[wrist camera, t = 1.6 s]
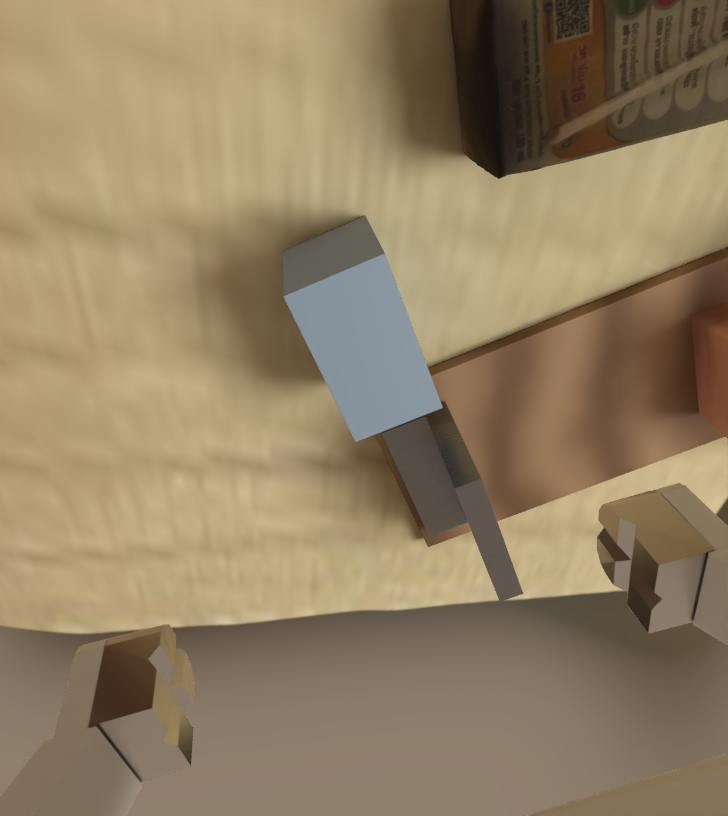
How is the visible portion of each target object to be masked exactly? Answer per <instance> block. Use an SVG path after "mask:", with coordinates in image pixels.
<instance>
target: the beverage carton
mask: <svg viewBox="0 0 728 816" xmlns="http://www.w3.org/2000/svg"><path fill="white" fill-rule="evenodd" d="M450 11H451V23H452V33H453V43H454V54H455V65H456V76H457V90H458V101H459V112H460V122H461V131H462V141H463V150H464V154H465V155H467V156H468V157H469V158H470V159H471V160H472V161H474V162H475V163H476V164H477V165H478V166H480V167H482V168H484V169H485V170H486V171H487V172H489V173H490V174H492V175H493V176H495V177H497V178H498V179H500V178H502V177H504V176H506V175H509V174H515V173H521V172H527V171H533V170H536V169H540V168H543V167H547V166H551V165H556V164H560V163H564V162H569V161H573V160H577V159H580V158H584V157H588V156H592V155H596V154H600V153H604V152H608V151H611V150H615V149H619V148H622V147H625V146H629V145H633V144H637V143H641V142H644V141H648V140H652V139H656V138H660V137H664V136H668V135H671V134H675V133H679V132H683V131H687V130H691V129H695V128H698V127H702V126H706V125H709V124H713V123H717V122H720V121H724V120H728V0H450Z"/></svg>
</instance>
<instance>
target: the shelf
mask: <svg viewBox="0 0 728 816" xmlns="http://www.w3.org/2000/svg"><path fill="white" fill-rule="evenodd" d="M428 370H429V372H430V375H431V378H432V380H433V383H434V386H435V388H436V391H437V393H438V396H439V399H440V401H441V402H444V401H445V402H446V404H447V406H448V408H449V411H450V413H451V415H452V417H453V419H454V421H455V423H456V425H457V428H458V430H459V432H460V434H461V436H462V438H463V440H464V442H465V445H466V447H467V449H468V451H469V453H470V455H471V457H472V460H473V462H474V464H475V466H476V468H477V470H478V472H479V474H480V477H481V479H482V481H483V484H484V487H485V490H486V493H487V495H488V498H489V501H490V504H491V506H492V509H493V512H494V515H495V517H496V520H497V521H499V520H502V519H505V518H507V517H510V516H513V515H516V514H518V513H521V512H524V511H526V510H529V509H532V508H534V507H537V506H540V505H542V504H545V503H548V502H550V501H553V500H556V499H558V498H561V497H564V496H566V495H569V494H572V493H574V492H577V491H580V490H583V489H585V488H588V487H591V486H593V485H596V484H599V483H601V482H604V481H607V480H609V479H612V478H615V477H617V476H620V475H623V474H625V473H628V472H631V471H633V470H636V469H639V468H642V467H644V466H647V465H650V464H652V463H655V462H658V461H660V460H663V459H666V458H668V457H671V456H674V455H676V454H679V453H682V452H684V451H687V450H690V449H692V448H695V447H698V446H701V445H703V444H706V443H709V442H711V441H714V440H717V439H719V438H722V437H727V438H728V248H726V249H724V250H721V251H719V252H716V253H714V254H711V255H709V256H706V257H704V258H701V259H699V260H696V261H694V262H691V263H689V264H686V265H684V266H681V267H679V268H676V269H674V270H671V271H669V272H666V273H664V274H661V275H659V276H657V277H654V278H652V279H649V280H647V281H644V282H642V283H639V284H637V285H634V286H632V287H629V288H627V289H624V290H622V291H619V292H617V293H614V294H612V295H609V296H607V297H604V298H602V299H599V300H597V301H594V302H592V303H589V304H587V305H584V306H582V307H579V308H577V309H575V310H572V311H570V312H567V313H565V314H562V315H560V316H557V317H555V318H552V319H550V320H547V321H545V322H542V323H540V324H537V325H535V326H532V327H530V328H527V329H525V330H522V331H520V332H517V333H515V334H512V335H510V336H507V337H505V338H502V339H500V340H497V341H495V342H493V343H490V344H488V345H485V346H483V347H480V348H478V349H475V350H473V351H470V352H468V353H465V354H463V355H460V356H458V357H455V358H453V359H450V360H448V361H445V362H443V363H440V364H438V365H435V366H433V367H430V368H428ZM375 435H376V437H377V439H378V441H379V443H380V446H381V448H382V450H383V452H384V454H385V456H386V458H387V460H388V463H389V465H390V467H391V469H392V471H393V473H394V475H395V477H396V480H397V482H398V484H399V486H400V488H401V490H402V492H403V495H404V497H405V499H406V501H407V503H408V505H409V507H410V509H411V512H412V514H413V516H414V518H415V520H416V522H417V524H418V527H419V529H420V531H421V533H422V535H423V537H424V539H425V541H426V544H427V546H428V547H430V546H432V545H435V544H438V543H440V542H443V541H446V540H448V539H451V538H454V537H457V536H459V535H462V534H465V533H467V532H470V531H471V528H470V526H469V523H468V522H467V523H465V524H462V525H459V526H457V527H454V528H451V529H449V530H446V531H443V532H441V533H438V534H435V535H433V536H430V537H429V535H428V533H427V531H426V529H425V527H424V524H423V522H422V520H421V518H420V516H419V514H418V511H417V509H416V507H415V505H414V503H413V501H412V498H411V496H410V494H409V492H408V490H407V488H406V485H405V483H404V481H403V479H402V477H401V475H400V472H399V470H398V468H397V466H396V464H395V461H394V459H393V457H392V455H391V453H390V451H389V448H388V446H387V444H386V442H385V440H384V438H383V435H382V433H381V432H380V433H378V434H375Z"/></svg>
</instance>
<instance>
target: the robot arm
mask: <svg viewBox="0 0 728 816" xmlns="http://www.w3.org/2000/svg"><path fill="white" fill-rule="evenodd" d="M598 520H599V521H600V523H601V524H602V525H603V527H604V529H603V530H602V531H601V533H600V534H599V535H598V536H597V551H598V555H599V559H600V563H601V565H602V567H603V569H604V571H605V573H606V575H607V576H608V578H609V579H610V581H611V582H612V584H613V585H615V586H617V587H619V588H621V589H623V590H625V591H627V592H628V599H627V605H628V606H629V608H630V609H631V610H632V612H633V613H634V615H635V616H636V617H637V618H638V620H639V621H640V623H641V624H642V626H643V627H644V628H645V630H646V631H647V633H648V634H649V633H652V632H656V631H660V630H664V629H667V628H671V627H676V626H679V625H683V624H687V623H691V622H693V625H695V626H697V627H698V628H700V629H701V630H703V631H705V632H706V633H708V634H709V635H711V636H713V637H714V638H716V639H718V640H719V641H721V642H723V643H724V644H726V645H728V526H727V525H726V524H725V523H724V522H723V521H721V519H719V518H718V517H717V516H716V515H715V514H714V513H713V512H712V511H711V510H710V509H709V508H708V507H707V506H706V505H705V504H704V503H703V502H702V501H701V500H700V499H699V498H698V497H697V496H696V495H694V494H693V493H692V492H691V491H690V490H689V489H688V488H687V487H686V486H684V485H682V484H680V483H678V484H674V485H671V486H667V487H663V488H660V489H656V490H653V491H648V492H644V493H641V494H637V495H634V496H630V497H627V498H623V499H620V500H616V501H613V502H609V503H606V504H603V505H602V506H601V508H600V509H599V519H598ZM175 643H176V635H175V633H174V632H173V630H172V628H171V627H170V625H161V626H157V627H153V628H149V629H145V630H141V631H137V632H133V633H129V634H125V635H121V636H117V637H113V638H109V639H106V640H102V641H98V642H94V643H90V644H86V645H82V646H80V648H79V649H78V651H77V652H76V654H75V656H74V659H73V663H72V667H71V671H70V675H69V679H68V683H67V687H66V691H65V695H64V699H63V703H62V707H61V711H60V715H59V719H58V723H57V727H56V731H55V735H54V738H52V739H48V740H45V741H44V742H43V743H42V745H41V746H40V748H39V749H38V750H37V751H36V752H35V754H34V755H33V756H32V758H31V759H30V760H29V761H28V762H27V764H26V765H25V766H24V767H23V769H22V770H21V771H20V772H19V774H18V775H17V776H16V778H15V779H14V780H13V781H12V783H11V784H10V785H9V786H8V788H7V789H6V790H5V791H4V793H3V794H2V795H1V796H0V816H127V813H128V812H129V810H130V808H131V806H132V804H133V802H134V800H135V799H136V797H137V795H138V793H139V791H140V789H141V787H142V784H141V782H144V781H148V780H151V779H154V778H157V777H160V776H163V775H166V774H169V773H172V772H176V771H178V770H182V769H185V768H188V767H191V759H192V741H193V727H192V725H191V724H190V722H189V720H188V719H187V717H186V716H187V714H188V713H189V711H190V710H191V708H192V707H193V705H194V700H195V685H194V677H193V670H192V667H191V664H190V661H189V658H188V656H187V655H186V653H185V651H183V650H181V649H178V648H176V647H175ZM525 816H728V753H726V754H723V755H720V756H716V757H713V758H710V759H707V760H704V761H700V762H697V763H694V764H691V765H687V766H684V767H681V768H677V769H674V770H671V771H668V772H665V773H661V774H659V775H655V776H652V777H649V778H645V779H642V780H639V781H636V782H632V783H629V784H626V785H622V786H619V787H616V788H613V789H610V790H607V791H603V792H600V793H597V794H593V795H590V796H587V797H584V798H581V799H577V800H574V801H571V802H567V803H564V804H561V805H558V806H554V807H551V808H548V809H545V810H542V811H538V812H535V813H532V814H528V815H525Z"/></svg>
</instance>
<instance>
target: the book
mask: <svg viewBox="0 0 728 816" xmlns="http://www.w3.org/2000/svg"><path fill="white" fill-rule="evenodd" d="M282 272H283V297H284V299H285V301H286V303H287V305H288V307H289V309H290V311H291V313H292V315H293V317H294V319H295V321H296V323H297V325H298V327H299V329H300V331H301V333H302V335H303V337H304V339H305V341H306V343H307V345H308V347H309V349H310V351H311V353H312V356H313V358H314V360H315V362H316V364H317V366H318V368H319V370H320V372H321V374H322V376H323V378H324V380H325V382H326V384H327V386H328V388H329V390H330V392H331V394H332V396H333V398H334V400H335V402H336V404H337V406H338V408H339V410H340V412H341V414H342V416H343V418H344V420H345V422H346V424H347V426H348V428H349V430H350V432H351V434H352V436H353V438H354V440H355V442H358V441H360V440H363V439H365V438H368V437H370V436H373V435H375V434H378V433H380V432H383V431H385V430H388V429H390V428H393V427H395V426H398V425H401V424H403V423H406V422H408V421H411V420H413V419H416V418H418V417H421V416H423V415H426V414H428V413H431V412H433V411H436V410H438V409H441V408H443V407H442V404H441V401H440V399H439V396H438V393H437V391H436V388H435V386H434V383H433V380H432V378H431V375H430V372H429V370H428V367H427V364H426V362H425V359H424V356H423V354H422V351H421V348H420V346H419V343H418V340H417V338H416V335H415V332H414V330H413V327H412V324H411V322H410V319H409V317H408V314H407V311H406V309H405V306H404V303H403V301H402V298H401V295H400V293H399V290H398V287H397V285H396V282H395V279H394V277H393V274H392V271H391V269H390V266H389V263H388V261H387V258H386V256H385V253H384V251H383V249H382V247H381V245H380V243H379V241H378V239H377V238H376V236H375V234H374V232H373V230H372V228H371V226H370V224H369V222H368V220H367V218H366V216H363V217H361V218H358V219H356V220H354V221H351V222H349V223H347V224H344V225H342V226H340V227H338V228H335V229H333V230H331V231H328V232H326V233H324V234H321V235H319V236H317V237H314V238H312V239H310V240H307V241H305V242H303V243H300V244H298V245H296V246H294V247H291V248H289V249H287V250H284V251H282Z"/></svg>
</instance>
